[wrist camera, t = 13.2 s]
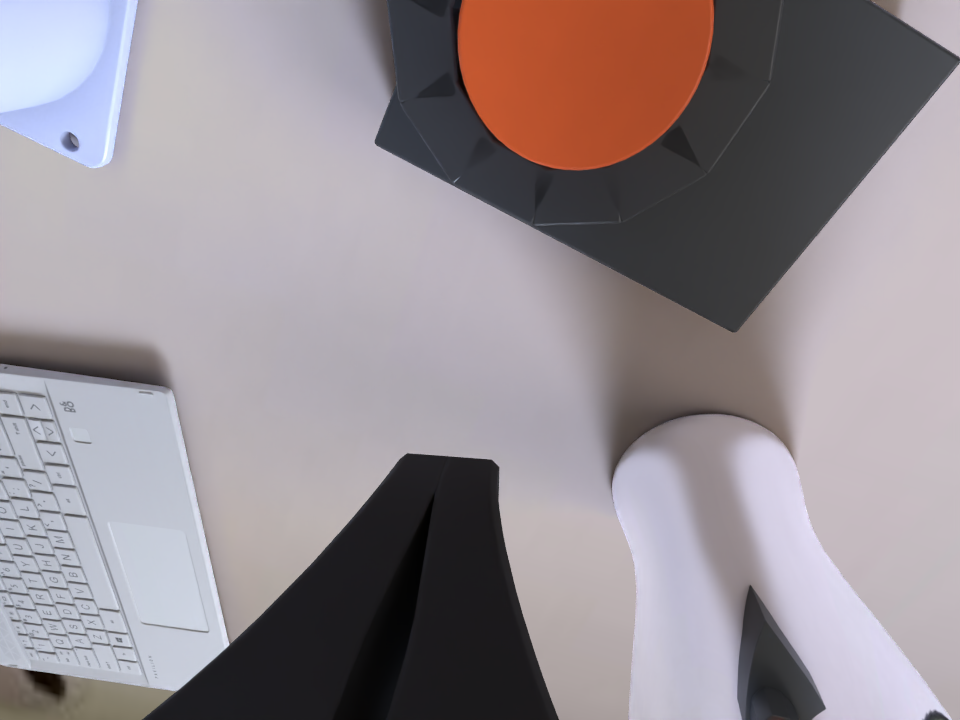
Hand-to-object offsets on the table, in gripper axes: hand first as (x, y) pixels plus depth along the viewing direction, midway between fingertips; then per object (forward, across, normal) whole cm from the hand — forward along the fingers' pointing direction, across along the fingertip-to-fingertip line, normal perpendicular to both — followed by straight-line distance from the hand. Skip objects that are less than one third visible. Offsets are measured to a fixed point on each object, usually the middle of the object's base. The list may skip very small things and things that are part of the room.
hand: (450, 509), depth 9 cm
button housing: (+10, -3, -5) cm, 12 cm away
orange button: (+6, -2, -6) cm, 9 cm away
